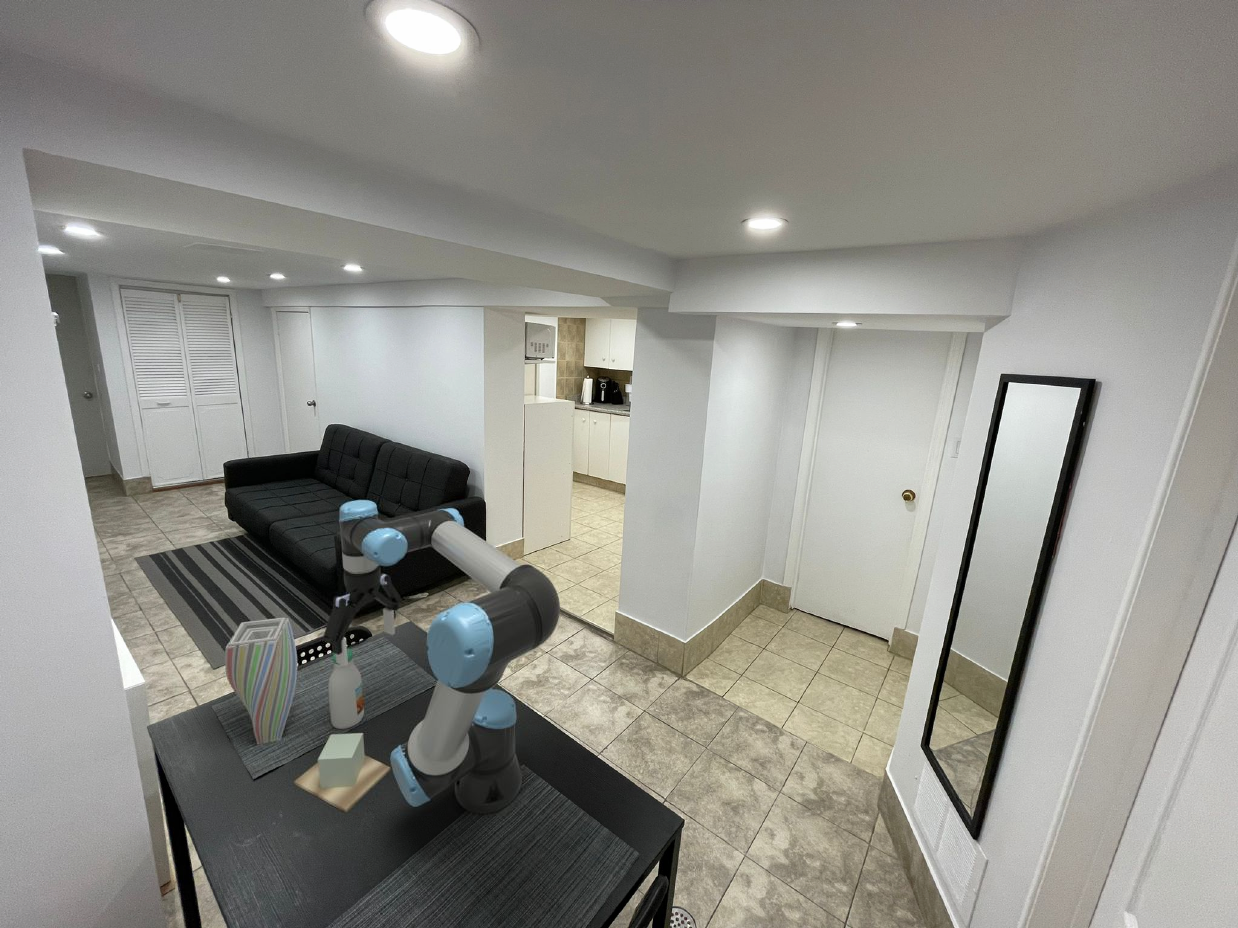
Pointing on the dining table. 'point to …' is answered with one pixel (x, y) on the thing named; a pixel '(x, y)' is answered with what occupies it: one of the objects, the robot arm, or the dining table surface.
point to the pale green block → (341, 760)
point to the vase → (264, 673)
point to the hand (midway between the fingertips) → (367, 647)
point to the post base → (344, 795)
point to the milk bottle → (345, 694)
